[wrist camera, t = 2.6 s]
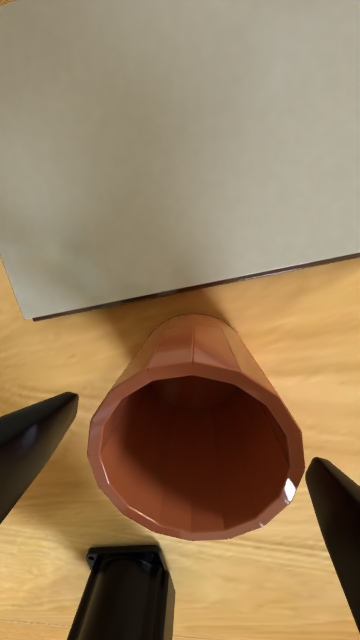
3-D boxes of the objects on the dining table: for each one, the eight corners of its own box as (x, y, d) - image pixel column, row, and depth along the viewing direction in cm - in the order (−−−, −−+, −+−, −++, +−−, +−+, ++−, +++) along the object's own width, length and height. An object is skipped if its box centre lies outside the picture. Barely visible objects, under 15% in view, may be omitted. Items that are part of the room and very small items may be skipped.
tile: (40, 319, 13) (20, 325, 12) (-51, 65, 10) (-91, 32, 9) (387, 251, 11) (417, 247, 9) (392, -107, 8) (435, -191, 7)
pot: (155, 415, 14) (118, 545, 7) (131, 323, 13) (59, 381, 6) (253, 402, 13) (311, 536, 7) (239, 303, 12) (294, 344, 5)
